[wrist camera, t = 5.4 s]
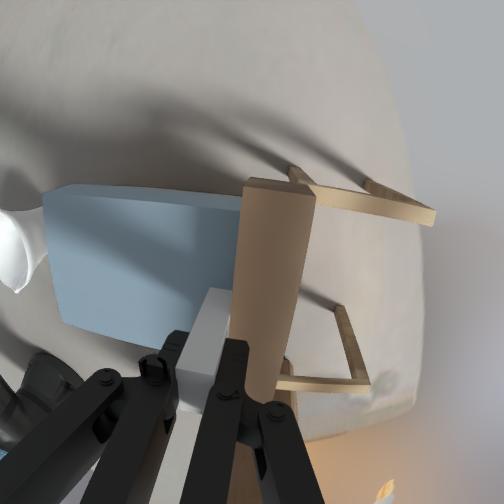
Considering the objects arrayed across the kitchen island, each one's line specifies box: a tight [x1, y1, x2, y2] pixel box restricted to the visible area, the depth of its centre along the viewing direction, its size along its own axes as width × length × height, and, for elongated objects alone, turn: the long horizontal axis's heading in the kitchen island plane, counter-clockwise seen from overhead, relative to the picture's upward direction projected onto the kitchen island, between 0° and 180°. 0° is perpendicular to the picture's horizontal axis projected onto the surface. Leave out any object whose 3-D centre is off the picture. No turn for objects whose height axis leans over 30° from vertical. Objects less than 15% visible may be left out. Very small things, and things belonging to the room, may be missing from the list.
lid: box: [42, 184, 242, 350], centre depth 20 cm, size 18×11×4 cm, turn 84°
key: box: [228, 177, 317, 404], centre depth 16 cm, size 3×15×4 cm, turn 174°
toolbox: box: [117, 166, 436, 393], centre depth 23 cm, size 26×15×12 cm, turn 84°
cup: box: [0, 206, 48, 294], centre depth 26 cm, size 9×9×10 cm
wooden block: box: [192, 359, 298, 504], centre depth 27 cm, size 10×10×20 cm
